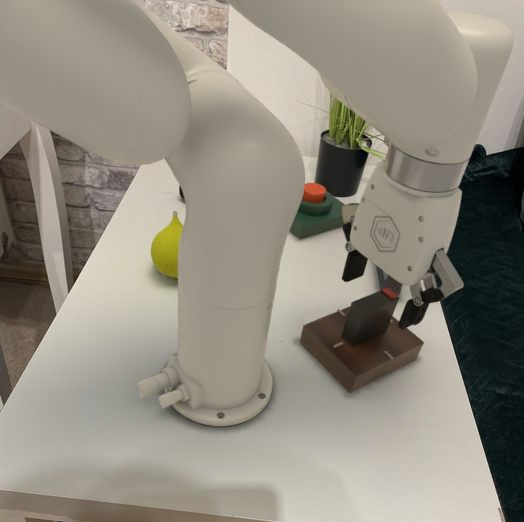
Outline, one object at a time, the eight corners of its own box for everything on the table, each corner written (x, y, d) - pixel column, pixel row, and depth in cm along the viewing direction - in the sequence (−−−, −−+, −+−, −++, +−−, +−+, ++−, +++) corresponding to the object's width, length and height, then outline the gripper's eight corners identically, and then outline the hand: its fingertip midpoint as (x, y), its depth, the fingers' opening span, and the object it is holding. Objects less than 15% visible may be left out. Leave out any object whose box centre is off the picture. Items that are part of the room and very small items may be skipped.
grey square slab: (352, 346, 64) (364, 311, 60) (340, 335, 65) (351, 300, 61) (386, 330, 67) (400, 296, 63) (374, 320, 68) (387, 286, 64)
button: (310, 206, 86) (312, 196, 85) (295, 194, 88) (297, 185, 87) (328, 201, 88) (331, 191, 87) (313, 190, 90) (315, 180, 89)
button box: (299, 239, 85) (303, 218, 83) (264, 210, 91) (266, 189, 88) (352, 223, 91) (358, 202, 88) (316, 196, 96) (320, 176, 94)
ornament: (178, 252, 79) (178, 191, 72) (211, 274, 76) (215, 213, 69) (141, 271, 75) (137, 208, 68) (175, 294, 72) (175, 232, 65)
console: (350, 393, 63) (357, 376, 61) (298, 341, 68) (302, 323, 66) (417, 359, 68) (425, 341, 66) (364, 313, 74) (370, 296, 72)
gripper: (337, 135, 53) (310, 270, 66) (470, 217, 44) (410, 357, 56) (388, 123, 57) (353, 254, 69) (522, 197, 48) (454, 333, 60)
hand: (379, 300), depth 63 cm, fingers open, 9 cm apart
